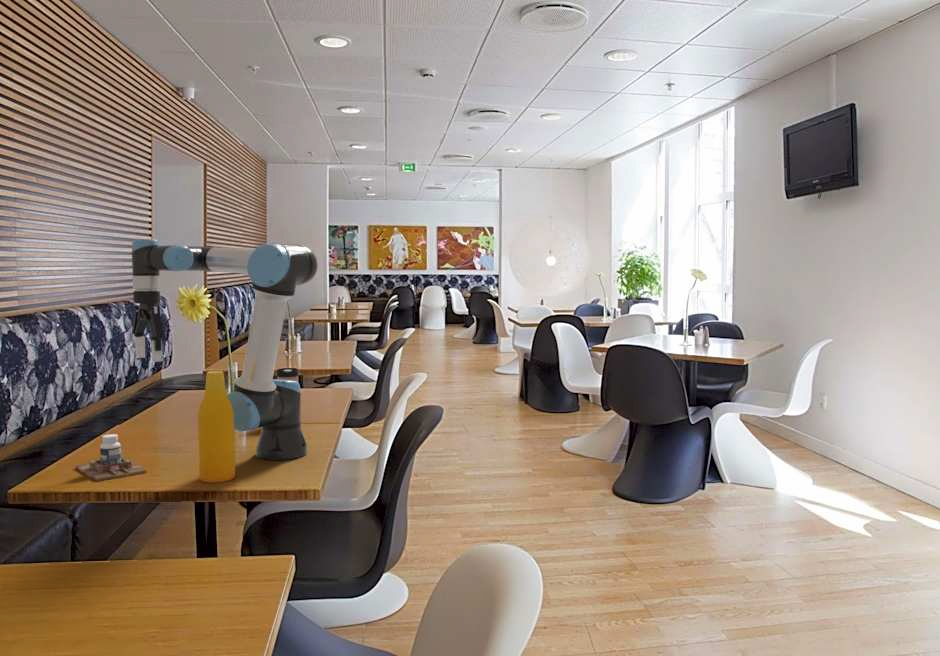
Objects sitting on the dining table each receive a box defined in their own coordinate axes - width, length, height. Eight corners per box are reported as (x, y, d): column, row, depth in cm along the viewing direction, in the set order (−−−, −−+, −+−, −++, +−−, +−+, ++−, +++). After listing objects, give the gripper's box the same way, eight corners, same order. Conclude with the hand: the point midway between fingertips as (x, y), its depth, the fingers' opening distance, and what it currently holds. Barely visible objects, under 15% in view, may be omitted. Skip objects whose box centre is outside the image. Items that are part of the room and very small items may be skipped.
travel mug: (288, 420, 283) (287, 367, 281) (303, 422, 279) (302, 368, 277) (273, 424, 276) (272, 369, 275) (288, 426, 272) (287, 371, 271)
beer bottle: (195, 483, 200) (192, 374, 198) (204, 474, 209) (201, 369, 207) (231, 482, 201) (228, 374, 198) (238, 473, 210) (236, 369, 208)
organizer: (146, 472, 211) (145, 463, 210) (96, 481, 202) (96, 471, 202) (123, 460, 224) (123, 451, 224) (75, 468, 215) (75, 459, 215)
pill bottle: (97, 466, 213) (96, 435, 212) (117, 463, 216) (115, 432, 216) (105, 470, 209) (103, 438, 208) (124, 466, 213) (123, 435, 212)
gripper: (175, 290, 224) (177, 362, 225) (144, 289, 242) (146, 355, 244) (149, 291, 219) (151, 364, 220) (119, 289, 237) (121, 356, 238)
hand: (148, 359), depth 232 cm, fingers open, 13 cm apart
